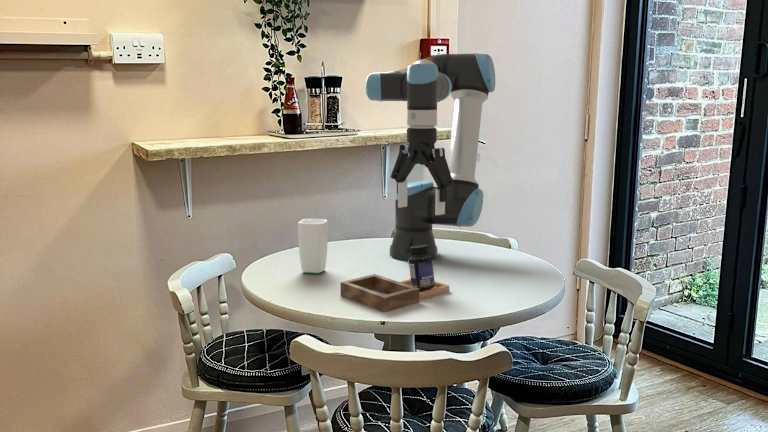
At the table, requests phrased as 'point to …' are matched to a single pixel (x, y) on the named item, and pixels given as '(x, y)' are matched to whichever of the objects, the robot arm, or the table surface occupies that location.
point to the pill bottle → (421, 268)
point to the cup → (313, 244)
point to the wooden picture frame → (363, 293)
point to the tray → (431, 292)
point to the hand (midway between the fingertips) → (420, 210)
